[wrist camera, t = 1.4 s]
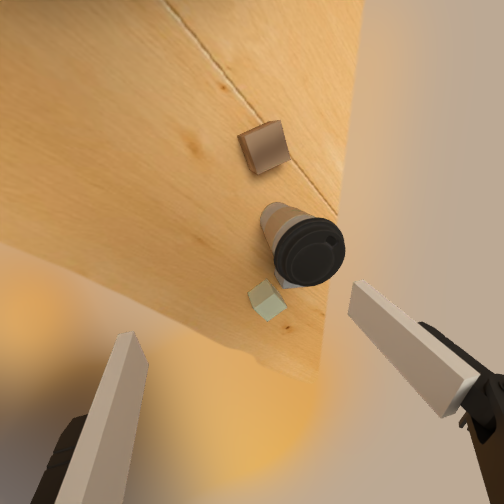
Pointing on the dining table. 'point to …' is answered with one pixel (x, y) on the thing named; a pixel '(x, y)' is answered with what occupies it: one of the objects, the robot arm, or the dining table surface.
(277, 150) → the walnut cube
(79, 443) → the robot arm
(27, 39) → the dining table surface
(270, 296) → the sage cube
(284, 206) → the coffee cup
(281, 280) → the slate cube
